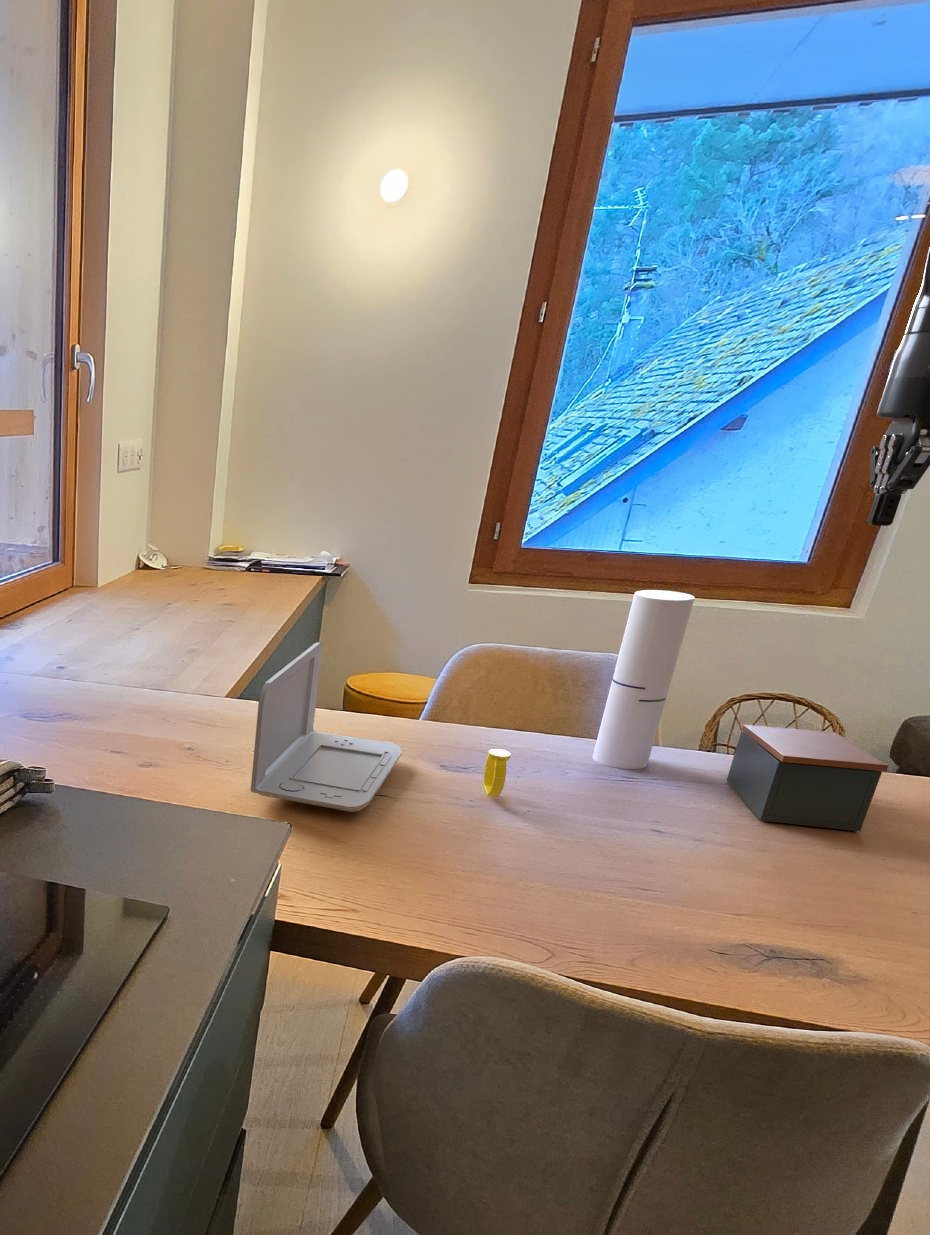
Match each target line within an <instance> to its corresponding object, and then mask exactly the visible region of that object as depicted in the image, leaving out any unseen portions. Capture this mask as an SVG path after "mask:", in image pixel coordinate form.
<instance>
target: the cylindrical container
mask: <svg viewBox="0 0 930 1235" xmlns="http://www.w3.org/2000/svg"><path fill="white" fill-rule="evenodd" d="M694 603H695V596H694V595H692V594H689V593H685V592H680V591H674V590H665V589H664V590H663V589H644V590H637V591H634V594H633V598H632V602H631V605H630V609H629V613H628V618H627V621H626V625H625V628H624V633H623V636H622V641H621V644H620V648H619V652H618V656H617V659H616V664H615V668H614V672H613V675H612V679H611V684H610V686H609V692H608V695H607V698H606V699H607V700H606V704H605V706H604V711H603V714H602V719H601V722H600V725H599V726H600V727H599V730H598V734H597V739H596V743H595V745H594V750H593V753H592V759H593V760H594V761H595V762H597V763H599V764H601V765H604V766H607V767H611V768H615V769H622V770H639V769H644V768H647V766H648V764H649V760H650V757H651V753H652V750H653V747H654V743H655V739H656V736H657V733H658V728H659V726H660V721H661V718H662V714H663V711H664V707H665V704H666V701H667V696H668V693H669V690H670V687H671V682H672V679H673V676H674V672H675V670H676V669H675V668H676V665H677V662H678V658H679V655H680V651H681V648H682V644H683V640H684V637H685V633H686V631H687V630H686V629H687V627H688V623H689V619H690V616H691V612H692V610H693V609H692V608H693V605H694Z"/></svg>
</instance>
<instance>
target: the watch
mask: <svg viewBox="0 0 930 1235" xmlns="http://www.w3.org/2000/svg"><path fill="white" fill-rule="evenodd" d="M511 755H512V754H511V752H510V751H508V750H505V749H502V748H501V749H500V748H491V749H489V750H488V751H487V758H486V760H485V765H484V771H483V788H484V791H485V793H486V796H487V797H499V796H500V795H501V794H502V792H503V789H504V787H505V781H506V777H507V761H509V760H511Z"/></svg>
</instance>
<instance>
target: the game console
mask: <svg viewBox="0 0 930 1235" xmlns="http://www.w3.org/2000/svg"><path fill="white" fill-rule="evenodd" d="M322 656H323V645H322V643H321V642H317V641H316V642H314V644H312V645H311V646H309V647H308V648H307V649H306V650H304V651H303V652H302V653H300V654H299V655H298V656H297V657H295V659H292V661H290V662H289V663H288V664H287V665H285V666H284V667H282V669H280V670H279V671H278V672H276V673H275V674H274V675H273V676H271V677H270V678H269V679H268V680H266V681H265V682H264V684H263V686H262V688H261V691H260V695H259V697H258V698H259V699H258V705H257V715H256V718H257V719H256V727H255V736H254V738H255V739H254V750H253V761H252V771H251V772H252V773H251V781H250V792H251V793H253V794H258V795H259V796H263V797H268V798H272V799H279V800H283V801H289V802H290V801H291V802H294V803H295V802H296V803H300V804H305V805H312V806H316V807H322V808H328V809H333V810H339V811H344V812H348V813H351V812H352V813H353V812H355V813H356V812H360V811H362V810H363V809H365V808H366V807H368V805H369V804H370V803H371V801H372V799H373V798H374V797H375V796H376V794H377V792H378V791H379V790H380V788H381V787H382V785H383V783H384V782H385V780H386V779H387V778H388V776H389V774H390V773H391V772H392V770H393V769H394V767H395V765H396V764H397V763H398V761H399V760H400V758H401V757H402V755H403V750H402V748H401V745H399V744H397V743H395V742H389V741H382V740H378V739H377V740H376V739H369V738H362V737H355V736H351V735H350V736H349V735H342V734H335V733H329V732H322V731H316V730H314V725H315V724H314V723H315V716H316V707H317V701H318V700H317V698H318V691H319V683H320V682H319V680H320V674H321V673H320V672H321V665H322Z"/></svg>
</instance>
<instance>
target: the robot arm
mask: <svg viewBox="0 0 930 1235" xmlns="http://www.w3.org/2000/svg"><path fill="white" fill-rule="evenodd" d="M905 329H906V330H905V332H904V335H903V337H902V340H901V342H900V345H899V347H898V349H897V350H896V353H895V356H894V358H893V361H892V364H891V367H890V371H889V374H888V377H887V380H886V382H885V385H884V386H885V387H884V388H883V392H882V396H881V398H880V402H879V405H878V408H877V411H876V417H877V418H878V419H889V420H891V421H890V424H889V426H888V428H887V430H886V431H885V434H884V435H883V436H882V438H881V440H880V443H879V446H872V447H871V450H870V451H869V488H870V489H873V494H875V496H874V499H873V502H872V505H871V508H870V511H869V514H868V517H867V519H866V523H867V525H869V526H874V527H875V526H882V527H888V526H891V525H892V524H893V522H894V519H895V516H896V513H897V511H898V508H899V505H900V502H901V499H902V496H903V495H906V494H907V491H908V490H914V489H915V488H916V486H917V485H918V483H919V482H920V480H921V479H922V477H923V476H924V474H925V473H926V471H927V470H928V469H929V467H930V248H929V249H928V253H927V259H926V262H925V268H924V273H923V279H922V283H921V287H920V290H919V293H918V295H917V297H916V299H915V302H914V304H913V307H912V311H911V314H910V317H909V320H908V323H907V326H906V328H905Z"/></svg>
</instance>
